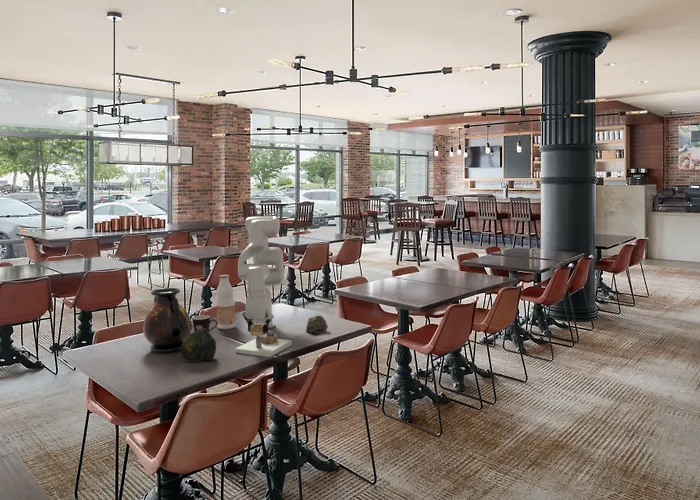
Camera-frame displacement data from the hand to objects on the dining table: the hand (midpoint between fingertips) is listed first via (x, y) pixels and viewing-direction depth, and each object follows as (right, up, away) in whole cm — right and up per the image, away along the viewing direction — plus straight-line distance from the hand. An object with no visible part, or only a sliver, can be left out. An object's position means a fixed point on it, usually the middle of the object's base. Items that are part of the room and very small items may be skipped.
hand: (258, 331), depth 255 cm
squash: (-24, -11, -9) cm, 28 cm away
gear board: (+2, -9, +5) cm, 10 cm away
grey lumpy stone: (+25, -5, +32) cm, 41 cm away
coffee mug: (-31, -7, +26) cm, 42 cm away
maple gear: (0, -1, 0) cm, 1 cm away
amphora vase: (-43, -9, +8) cm, 45 cm away
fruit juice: (-24, -4, +45) cm, 51 cm away
